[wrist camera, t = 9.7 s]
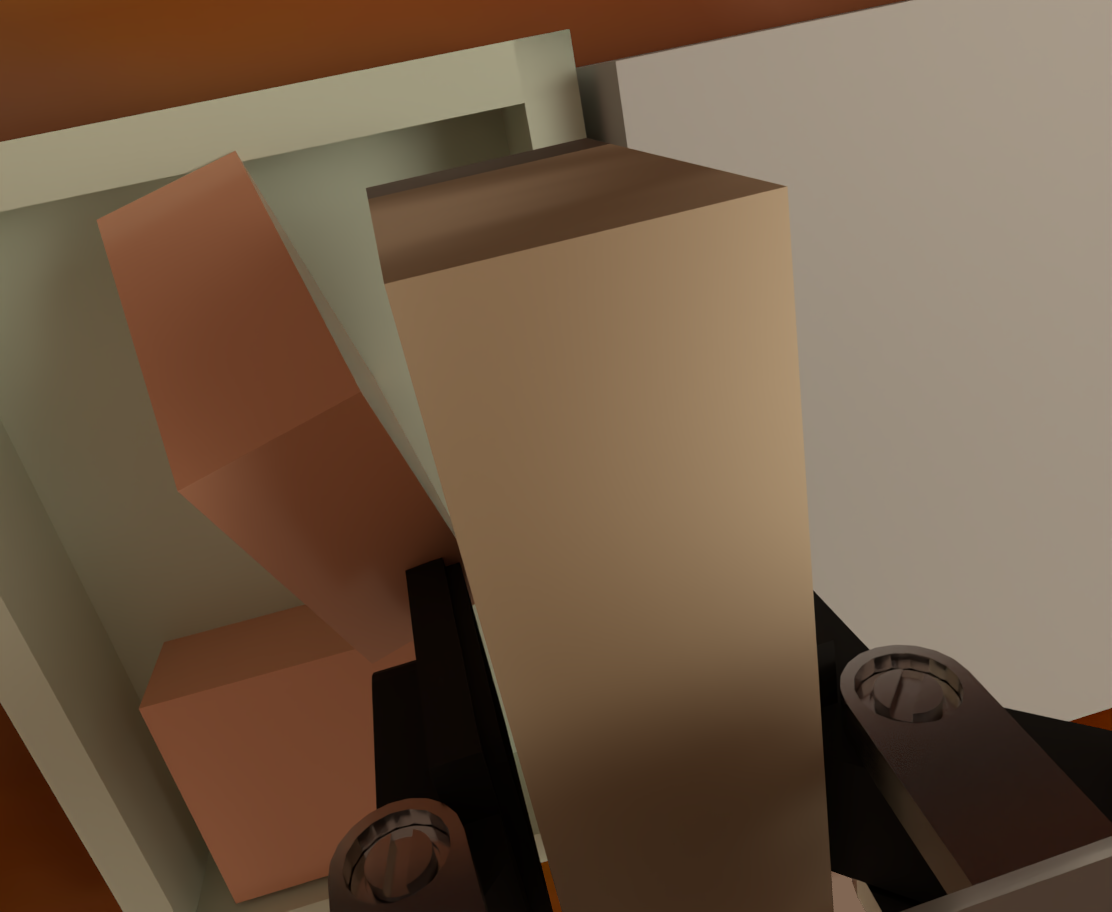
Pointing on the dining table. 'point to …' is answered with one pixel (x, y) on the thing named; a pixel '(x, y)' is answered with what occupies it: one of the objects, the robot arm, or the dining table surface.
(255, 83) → the dining table surface
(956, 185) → the bench board
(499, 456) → the tan long block
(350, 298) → the box
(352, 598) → the tile
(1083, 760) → the robot arm
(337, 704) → the tile
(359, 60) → the dining table surface
